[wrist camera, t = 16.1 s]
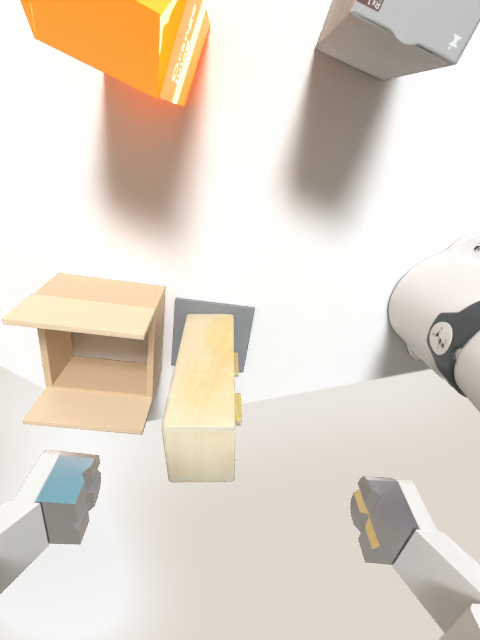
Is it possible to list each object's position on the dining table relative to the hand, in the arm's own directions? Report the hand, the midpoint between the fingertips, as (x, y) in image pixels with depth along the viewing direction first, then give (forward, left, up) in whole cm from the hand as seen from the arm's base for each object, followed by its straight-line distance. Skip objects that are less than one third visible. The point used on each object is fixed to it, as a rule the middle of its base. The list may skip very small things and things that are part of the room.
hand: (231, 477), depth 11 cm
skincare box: (-10, -19, -37) cm, 43 cm away
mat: (+1, +18, -37) cm, 41 cm away
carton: (+15, +18, -37) cm, 44 cm away
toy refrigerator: (0, +18, -37) cm, 41 cm away
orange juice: (+10, -15, -37) cm, 41 cm away
